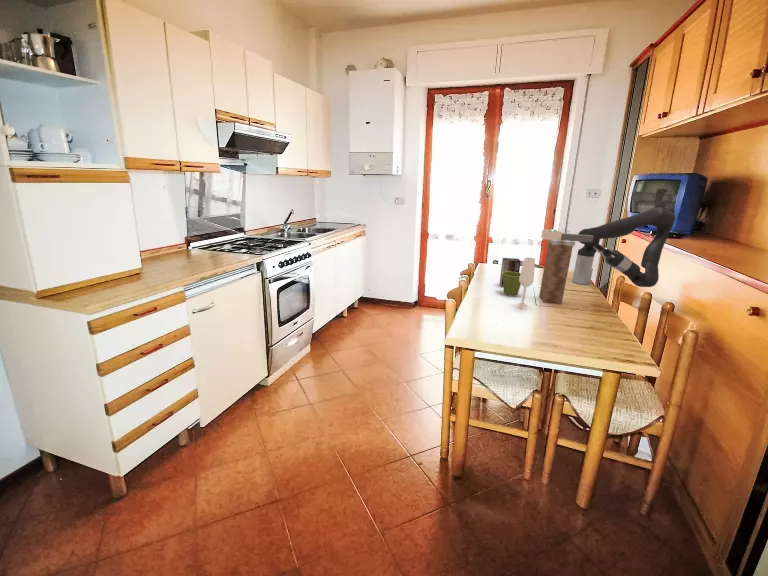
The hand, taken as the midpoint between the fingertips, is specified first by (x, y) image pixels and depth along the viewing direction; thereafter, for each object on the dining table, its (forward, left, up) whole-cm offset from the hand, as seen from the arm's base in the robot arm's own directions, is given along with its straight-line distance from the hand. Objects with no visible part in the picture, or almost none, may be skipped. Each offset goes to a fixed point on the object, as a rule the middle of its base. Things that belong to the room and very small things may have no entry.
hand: (591, 242), depth 187 cm
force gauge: (+11, -4, 0) cm, 11 cm away
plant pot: (+29, -17, -32) cm, 47 cm away
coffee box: (+23, -31, -32) cm, 50 cm away
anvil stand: (+13, -5, -32) cm, 35 cm away
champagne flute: (+33, +2, -32) cm, 46 cm away
